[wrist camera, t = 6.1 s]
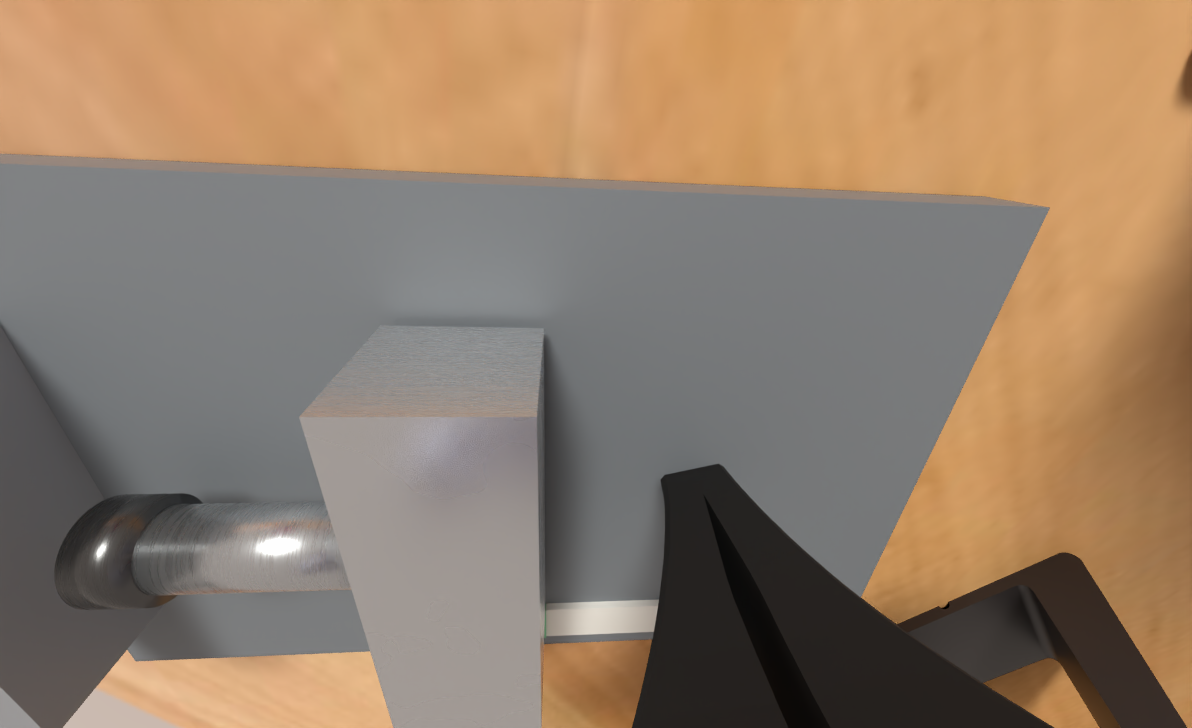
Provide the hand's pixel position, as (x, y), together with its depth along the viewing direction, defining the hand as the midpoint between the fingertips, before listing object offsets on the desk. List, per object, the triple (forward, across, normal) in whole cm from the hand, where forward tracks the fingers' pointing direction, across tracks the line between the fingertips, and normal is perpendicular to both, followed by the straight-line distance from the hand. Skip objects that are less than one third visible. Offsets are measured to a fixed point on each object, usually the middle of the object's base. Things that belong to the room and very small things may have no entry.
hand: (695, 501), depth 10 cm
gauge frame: (+2, +4, -1) cm, 5 cm away
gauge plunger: (+1, +7, -1) cm, 8 cm away
